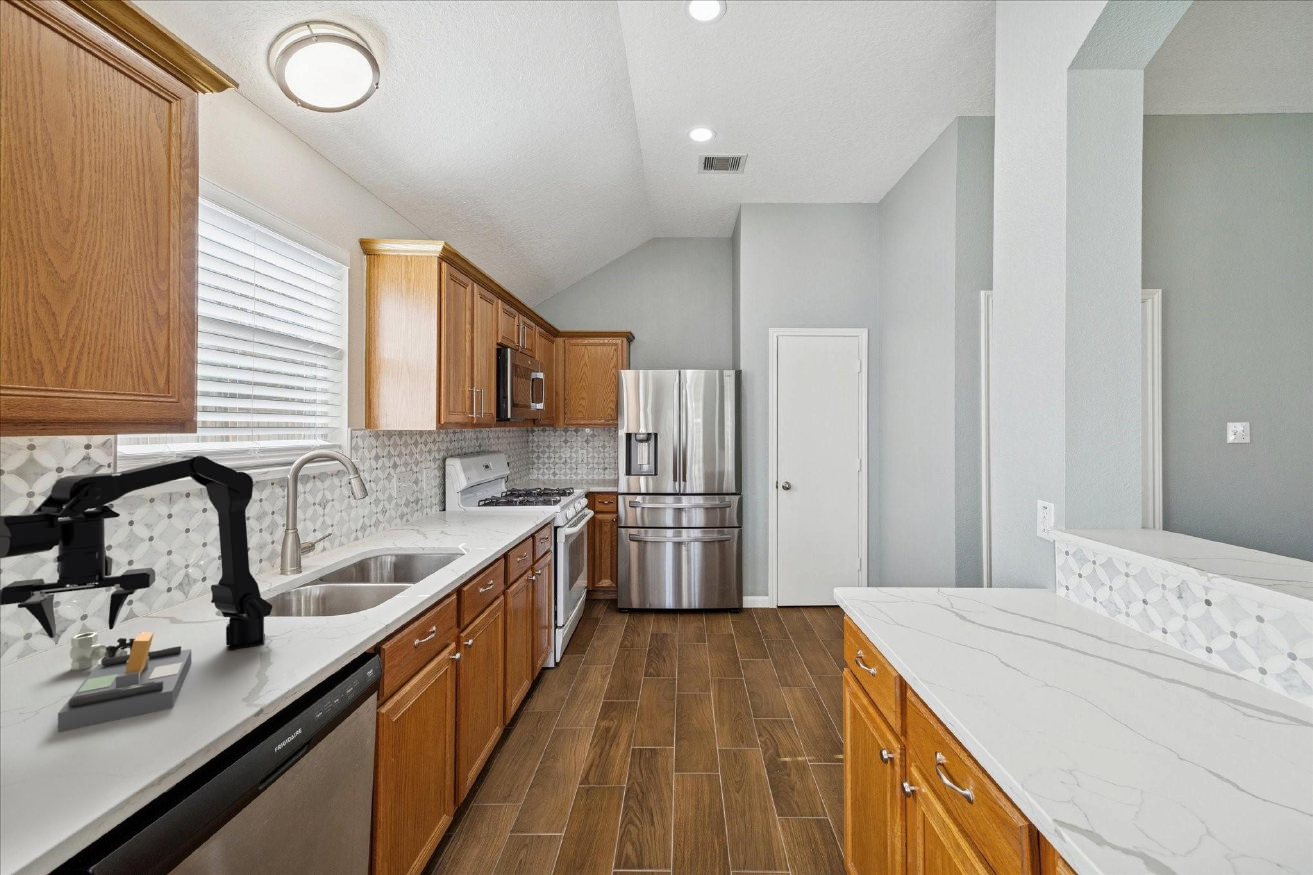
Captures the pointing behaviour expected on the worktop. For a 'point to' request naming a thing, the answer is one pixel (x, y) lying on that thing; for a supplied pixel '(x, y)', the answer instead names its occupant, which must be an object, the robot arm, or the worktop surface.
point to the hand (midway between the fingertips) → (82, 632)
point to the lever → (139, 652)
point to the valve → (94, 650)
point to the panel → (127, 689)
